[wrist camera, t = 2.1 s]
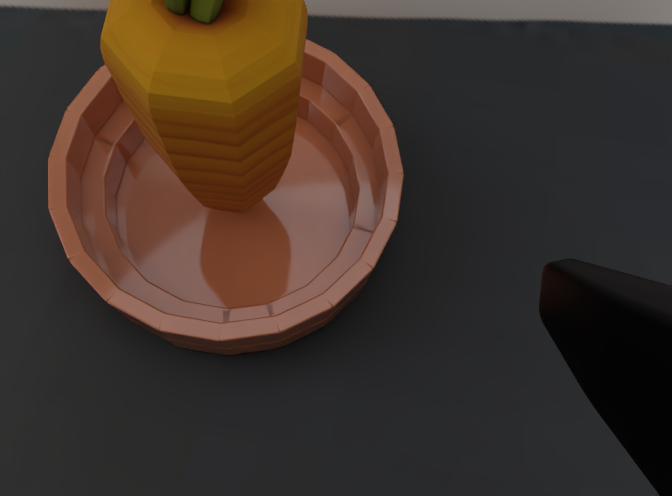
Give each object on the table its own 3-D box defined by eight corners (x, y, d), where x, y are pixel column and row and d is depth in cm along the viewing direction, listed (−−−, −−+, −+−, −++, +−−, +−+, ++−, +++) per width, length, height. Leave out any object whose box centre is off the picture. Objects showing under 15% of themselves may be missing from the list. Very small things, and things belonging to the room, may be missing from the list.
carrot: (149, 223, 23) (-69, -143, 8) (215, 126, 24) (125, -318, 10) (260, 282, 22) (229, 3, 8) (320, 180, 24) (380, -202, 10)
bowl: (444, 211, 24) (470, 175, 21) (223, 425, 21) (213, 422, 17) (248, 29, 26) (243, -31, 23) (16, 195, 23) (-28, 154, 19)
